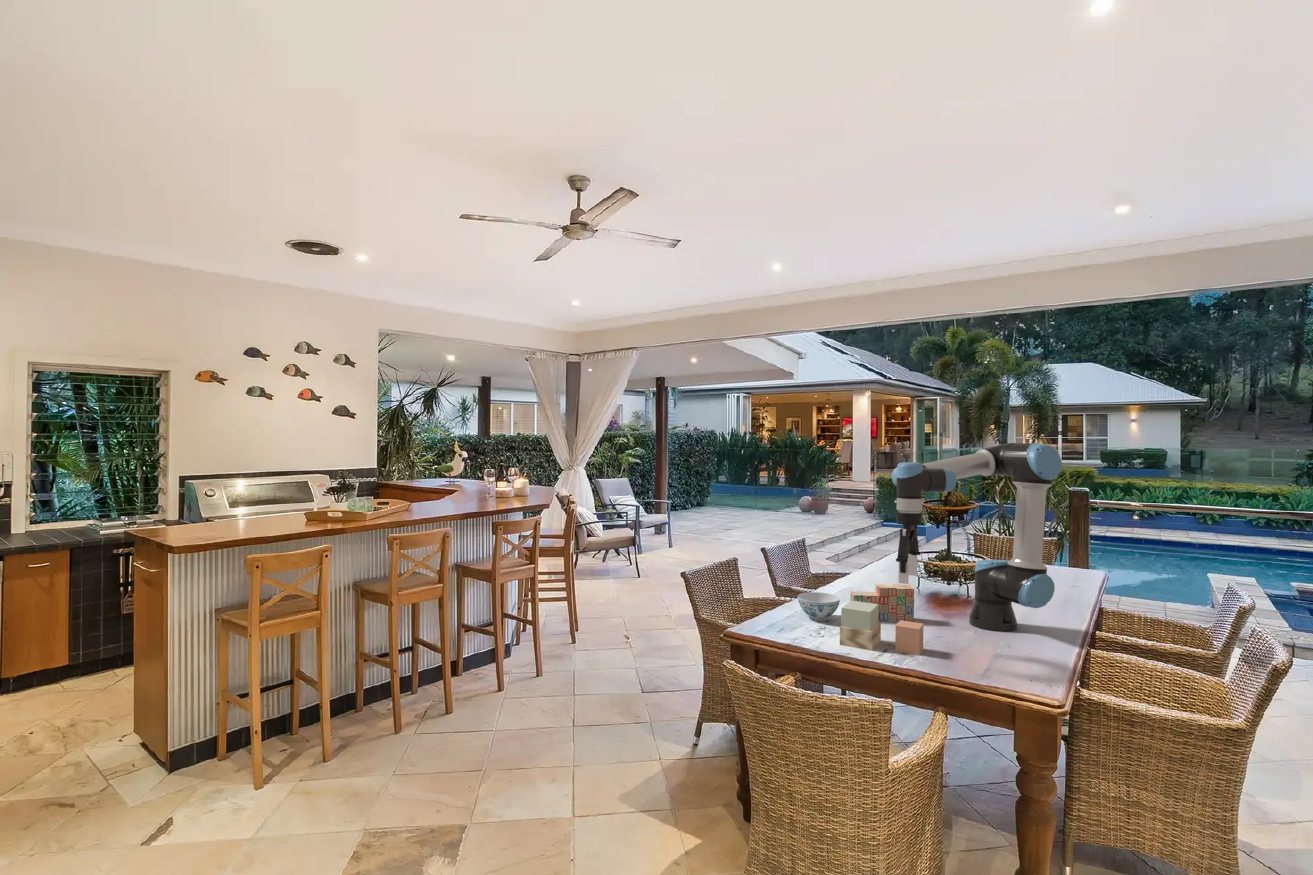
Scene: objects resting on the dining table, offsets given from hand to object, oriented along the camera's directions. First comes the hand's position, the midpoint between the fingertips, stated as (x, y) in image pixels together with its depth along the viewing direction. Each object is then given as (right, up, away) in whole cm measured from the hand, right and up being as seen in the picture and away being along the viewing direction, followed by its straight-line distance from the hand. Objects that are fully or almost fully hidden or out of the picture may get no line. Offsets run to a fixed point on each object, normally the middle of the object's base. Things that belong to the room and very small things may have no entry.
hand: (908, 579), depth 207 cm
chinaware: (-20, -22, +34) cm, 45 cm away
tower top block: (-13, -16, +7) cm, 22 cm away
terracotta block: (0, -22, -1) cm, 22 cm away
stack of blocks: (+3, -22, +34) cm, 40 cm away
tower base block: (-13, -22, +6) cm, 26 cm away
